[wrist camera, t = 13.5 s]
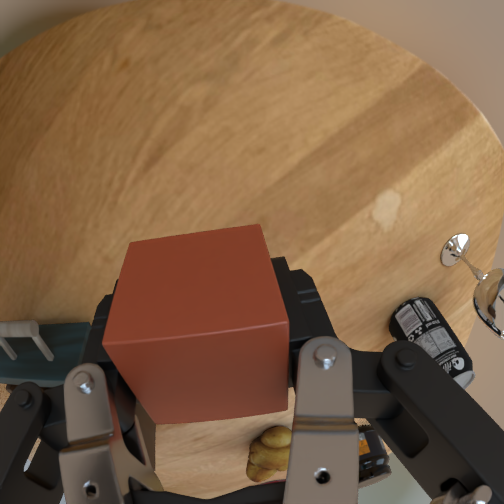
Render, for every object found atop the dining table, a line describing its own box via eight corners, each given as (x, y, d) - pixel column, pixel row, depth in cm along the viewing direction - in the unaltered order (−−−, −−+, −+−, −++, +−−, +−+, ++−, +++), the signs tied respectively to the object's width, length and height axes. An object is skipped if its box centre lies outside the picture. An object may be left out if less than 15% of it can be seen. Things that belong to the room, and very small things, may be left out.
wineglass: (428, 267, 32) (486, 346, 23) (451, 223, 29) (522, 297, 20) (458, 272, 34) (512, 341, 24) (480, 232, 31) (544, 299, 21)
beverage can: (413, 331, 39) (452, 402, 29) (377, 331, 37) (416, 411, 27) (439, 295, 35) (488, 366, 26) (403, 291, 34) (454, 373, 24)
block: (161, 330, 12) (155, 425, 9) (129, 241, 10) (100, 344, 6) (266, 316, 13) (288, 411, 9) (260, 222, 10) (290, 322, 7)
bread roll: (259, 421, 47) (266, 465, 40) (312, 419, 49) (323, 459, 43) (239, 449, 54) (244, 485, 47) (286, 447, 56) (294, 481, 50)
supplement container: (325, 438, 56) (339, 489, 47) (373, 418, 55) (392, 468, 45) (337, 448, 62) (350, 492, 52) (380, 430, 60) (396, 475, 51)
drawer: (-12, 292, 25) (-40, 343, 19) (70, 283, 26) (46, 344, 20) (58, 391, 36) (49, 436, 30) (130, 392, 37) (126, 441, 31)
